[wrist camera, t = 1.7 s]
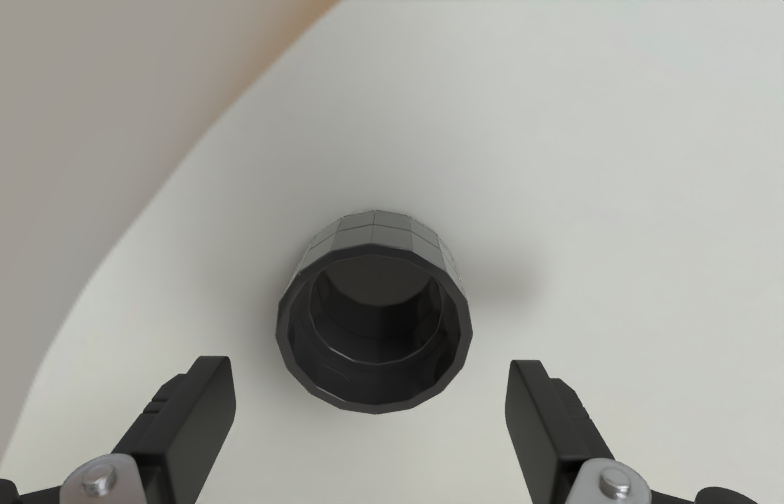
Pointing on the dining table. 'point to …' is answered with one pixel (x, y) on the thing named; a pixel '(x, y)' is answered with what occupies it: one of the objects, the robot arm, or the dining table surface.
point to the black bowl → (374, 315)
